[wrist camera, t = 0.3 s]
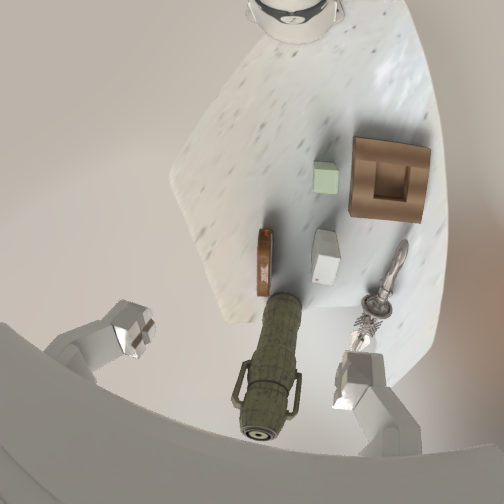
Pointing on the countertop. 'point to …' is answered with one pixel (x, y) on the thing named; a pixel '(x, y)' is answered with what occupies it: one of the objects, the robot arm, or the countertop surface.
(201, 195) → the countertop surface
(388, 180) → the walnut holder
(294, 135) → the countertop surface
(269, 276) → the tin
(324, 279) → the skincare box
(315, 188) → the green block
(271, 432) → the thermos
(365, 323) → the spaceship
